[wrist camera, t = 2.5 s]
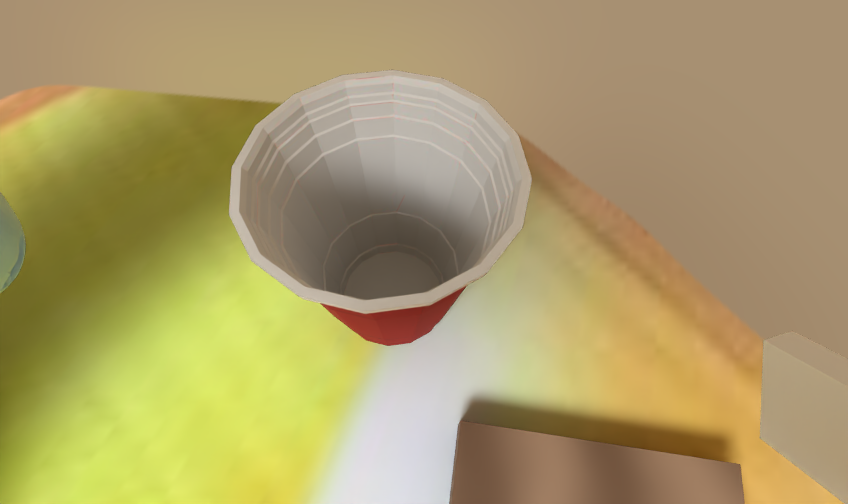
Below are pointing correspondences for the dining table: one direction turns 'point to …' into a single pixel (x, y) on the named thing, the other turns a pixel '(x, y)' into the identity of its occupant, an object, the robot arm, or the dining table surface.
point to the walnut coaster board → (580, 472)
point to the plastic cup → (380, 198)
